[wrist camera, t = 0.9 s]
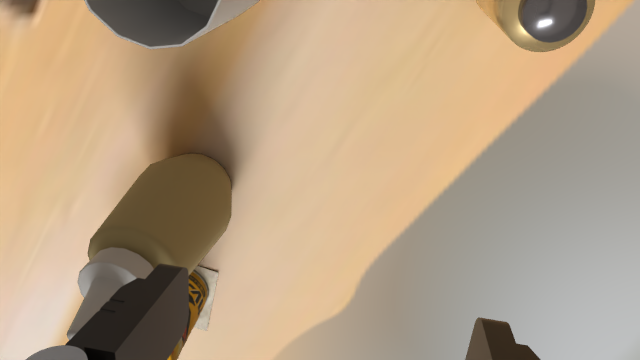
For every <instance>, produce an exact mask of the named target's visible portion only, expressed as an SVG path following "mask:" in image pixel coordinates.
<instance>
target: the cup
mask: <svg viewBox="0 0 640 360" xmlns="http://www.w3.org/2000/svg"><path fill="white" fill-rule="evenodd" d="M84 1H85V3H86V5H87V7H88V9H89V11H90V12H92V13H93V14H94V15H95V16H96V17H97V18H98V19H99V20H100V21H101V22H102V23H103V24H104V25H106V26H107V27H108V28H109V29H110V30H111V31H112V32H113V33H114V34H115V35H116V36H117V37H120V38H122V39H125V40H127V41H130V42H133V43H135V44H138V45H140V46H143V47H146V48H148V49H158V48H169V47H180V46H184V45H185V44H187V43H189V42H191V41H193V40H195V39H197V38H198V37H200V36H202V35H204V34H206V33H208V32H210V31H211V30H213V29H215V28H217V27H219V26H221V25H222V24H224V23H226V22H228V21H230V20H232V19H234V18H235V17H237V16H239V15H240V14H242V13H243V12H245V11H246V10H247V9H249V8H250V7H252V6H253V5H255V4H256V3H258V2H259V0H84Z"/></svg>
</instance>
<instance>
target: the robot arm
mask: <svg viewBox="0 0 640 360" xmlns="http://www.w3.org/2000/svg"><path fill="white" fill-rule="evenodd" d="M188 317H189V273H188V269H187V268H185V267H179V266H173V265H168V264H162V263H161V264H158V265H157V266H156V267H155V269H154V270H153V271H152V272H151V273H150V274H149V275H148V276H147V277H146V279H142V278H136V279H135V280H133V281H131V282H129V283H127V284H125V285H123V286H122V287H120V288H119V289H118V290H117V292H116V293H115V294H114V295H113V296H112V297H111V298H110V300H109V301H107V302H106V303H105V304H104V305H103V306H102V307H101V308H100V311H97V312H96V313H95V314H94V315H93V316H92V317H91V319H90V320H89V321H88V322H87V323H86V324H85V325H84V326H83V327H82V328H81V329H80V330H79V331H78V332H77V333H76V334H75V335H74V336H73V337H72V338H71V339H70V340H69V341H68V342H67V343H66V345H62V346H54V347H50V348H46V349H44V350H41V351H39V352H37V353H35V354H33V355H31V356H30V357H28V358H27V359H26V360H167V359H168V358H169V356H170V355H171V353H172V352H173V350H174V348H175V347H176V345H177V344H178V342H179V341H180V339H181V337H182V336H183V334H184V332H185V329H186V326H187V323H188ZM465 360H540V359H539V358H538V357H537V356H536V354H535V353H534V352H533V351H532V350H531V349H530V348H529V347H528V346H527V345H520V344H516V342H515V339H514V337H513V334H512V331H511V328H510V325H509V324H508V323H507V322H502V321H496V320H491V319H485V318H477V320H476V322H475V325H474V329H473V333H472V336H471V341H470V344H469V348H468V352H467V355H466V359H465Z"/></svg>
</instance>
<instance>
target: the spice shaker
mask: <svg viewBox="0 0 640 360" xmlns="http://www.w3.org/2000/svg"><path fill="white" fill-rule="evenodd" d="M476 2H477V4H478V5H479V7H480V8H481V9H482V10H483V11H484V12H485V14H486V15H487V16H488V17H489V18H490V19H491V20H492V21H493V22H494V23H495V24H496V25H497V26H498V27H499V28H500V29H501V30H502V31H503V32H504V33H505V34H506V35H507V36H508V37H509V38H510V39H511V40H512V41H513V42H514V43H515V44H516V45H518V46H519V47H521V48H523V49H525V50H529V51H533V52H547V51H552V50H555V49H558V48H560V47H563V46H565V45H566V44H568V43H570V42H571V41H572V40H574V39H575V38H576V37H577V36H578V35H579V34H580V33H581V32H582V31H583V30H584V28H585V27H586V25H587V24H588V22H589V20H590V18H591V16H592V13H593V10H594V5H595V0H476Z"/></svg>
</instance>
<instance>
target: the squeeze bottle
mask: <svg viewBox="0 0 640 360" xmlns="http://www.w3.org/2000/svg"><path fill="white" fill-rule="evenodd" d="M231 199H232V191H231V181H230V179H229V177H228V175H227V173H226V171H225V169H224V168H223V167H222V166H221V165H220V164H218V163H217V162H216V161H215V160H214V159H212V158H209V157H207V156H205V155H202V154H193V153H188V154H184V155H180V156H176V157H172V158H168V159H165V160H162V161H159V162H156V163H153V164H150V166H149V167H148V168H147V169H146V170H145V171H144V172H143V173H142V174H141V175H140V176H139V177H138V179H137V180H136V181H135V183H134V184H133V185H132V187H131V188H130V189H129V190H128V192H127V193H126V194H125V196H124V197H123V198H122V199H121V201H120V202H119V203H118V205H117V206H116V207H115V208H114V210H113V211H112V212H111V214H110V215H109V216H108V217H107V219H106V220H105V221H104V223H103V224H102V225H101V227H100V228H99V229H98V230H97V232H96V233H95V234H94V236H93V237H92V238H91V239H90V244H89V249H88V257H89V260H90V261H89V262H88V264H87V265H86V266H85V267H84V268H83V269H82V270H81V271H80V273H79V278H78V285H79V288H80V291H81V294H82V296H83V297H84V300H83V302H82V304H81V306H80V308H79V310H78V312H77V314H76V316H75V318H74V320H73V322H72V324H71V326H70V328H69V330H68V332H67V337H68V339H69V340H70V339H71V338H72V337H73V336H74V335H75V334H76V333H77V332H78V331H79V330H80V329H81V328H82V327H83V326H84V325H85V324H86V323H87V322H88V321H89V320H90V319H91V317H92V316H93V315H94V314H95V313H96V312H97V311H100V308H101V307H102V306H103V305H104V304H105V303H106V302H107V301H109V300H110V298H111V297H112V296H113V295H114V294H115V293H116V292H117V290H118V289H119V288H120V287H122V286H123V285H125V284H127V283H129V282H131V281H133V280H135V279H136V278H142V279H146V277H147V276H148V275H149V274H150V273H151V272H152V271H153V270H154V269H155V267H156V266H157V265H158V264H161V263H162V264H168V265H173V266H179V267H185V268H187V269H188V273H189V275H190V274H191V273H192V271H193V270H194V269H195V268H196V266H197V265H198V264H199V263H200V261H201V260H202V259H203V258H204V257H205V255H206V254H207V253H208V252H209V250H210V249H211V248H212V247H213V245H214V244H215V243H216V242H217V241H218V239H219V238H220V237H221V236H222V234H223V233H224V232H225V231H226V228H227V226H228V223H229V221H230V218H231Z"/></svg>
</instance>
